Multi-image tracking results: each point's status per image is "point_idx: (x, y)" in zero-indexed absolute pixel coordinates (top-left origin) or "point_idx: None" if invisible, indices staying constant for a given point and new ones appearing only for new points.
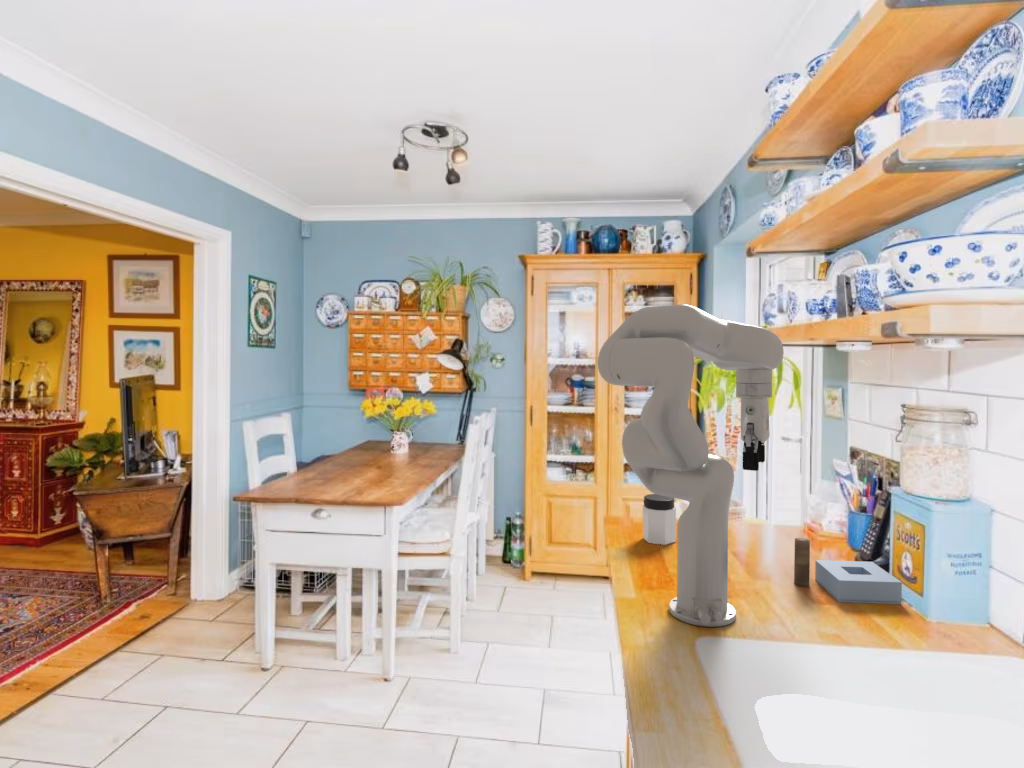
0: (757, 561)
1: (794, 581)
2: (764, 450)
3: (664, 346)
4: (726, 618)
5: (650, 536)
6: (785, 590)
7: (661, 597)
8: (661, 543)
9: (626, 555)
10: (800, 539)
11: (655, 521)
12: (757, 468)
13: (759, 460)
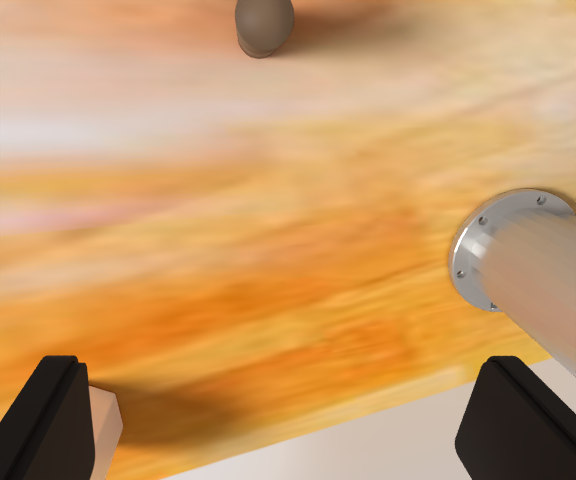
0: (114, 165)
1: (264, 57)
2: (2, 476)
3: None
4: (561, 205)
5: (117, 437)
6: (323, 84)
7: (449, 327)
8: (116, 402)
9: (237, 437)
10: (262, 24)
11: (101, 465)
12: (523, 368)
13: (85, 402)
